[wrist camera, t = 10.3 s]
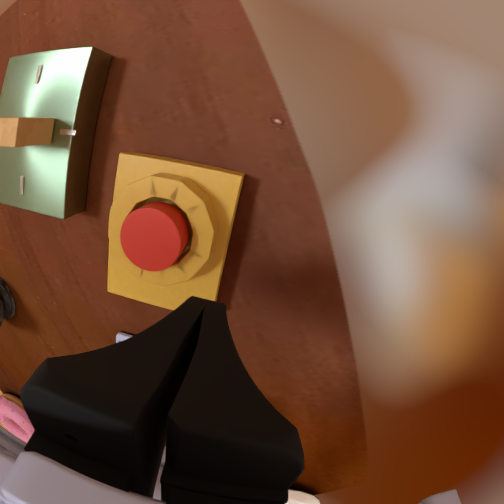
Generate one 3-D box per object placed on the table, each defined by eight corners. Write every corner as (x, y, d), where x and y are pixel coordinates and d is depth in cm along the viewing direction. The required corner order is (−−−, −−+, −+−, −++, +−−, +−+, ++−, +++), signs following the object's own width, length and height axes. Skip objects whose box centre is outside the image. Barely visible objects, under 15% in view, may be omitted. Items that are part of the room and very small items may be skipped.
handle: (55, 118, 15) (16, 117, 11) (51, 143, 16) (12, 147, 12) (7, 117, 15) (-29, 118, 11) (4, 140, 16) (-32, 145, 12)
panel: (89, 211, 21) (66, 221, 18) (9, 192, 20) (-14, 200, 17) (116, 55, 17) (96, 45, 14) (29, 62, 16) (6, 57, 13)
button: (183, 266, 18) (176, 278, 16) (129, 252, 18) (117, 263, 16) (193, 208, 17) (186, 215, 15) (135, 196, 16) (122, 201, 15)
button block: (215, 304, 23) (207, 334, 19) (119, 279, 22) (96, 303, 19) (244, 173, 19) (240, 179, 16) (133, 151, 19) (105, 154, 15)
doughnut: (39, 438, 34) (29, 454, 30) (-5, 393, 31) (-17, 408, 27) (65, 435, 32) (55, 454, 28) (14, 382, 29) (-1, 400, 25)
